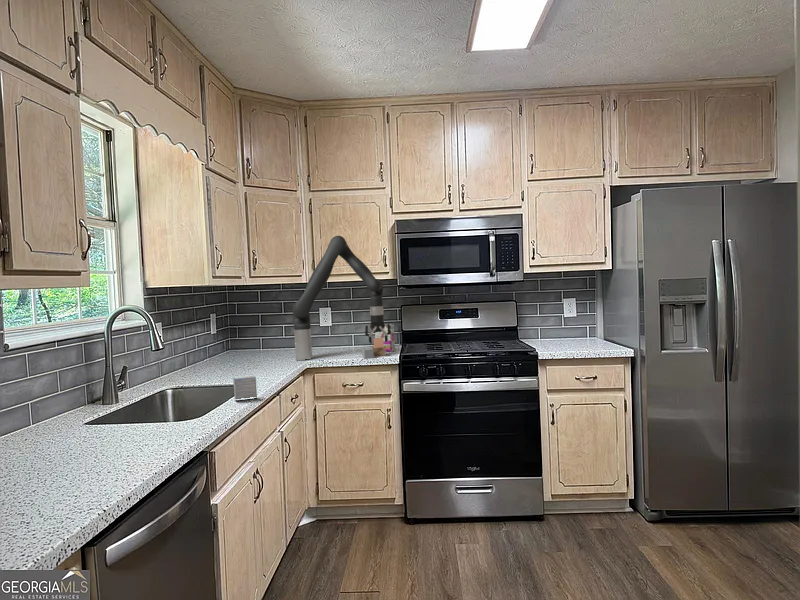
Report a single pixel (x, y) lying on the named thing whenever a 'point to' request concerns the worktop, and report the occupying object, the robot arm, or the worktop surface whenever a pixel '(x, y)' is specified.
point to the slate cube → (367, 353)
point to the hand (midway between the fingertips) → (378, 342)
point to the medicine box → (245, 387)
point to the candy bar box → (391, 338)
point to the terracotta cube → (378, 342)
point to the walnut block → (379, 351)
